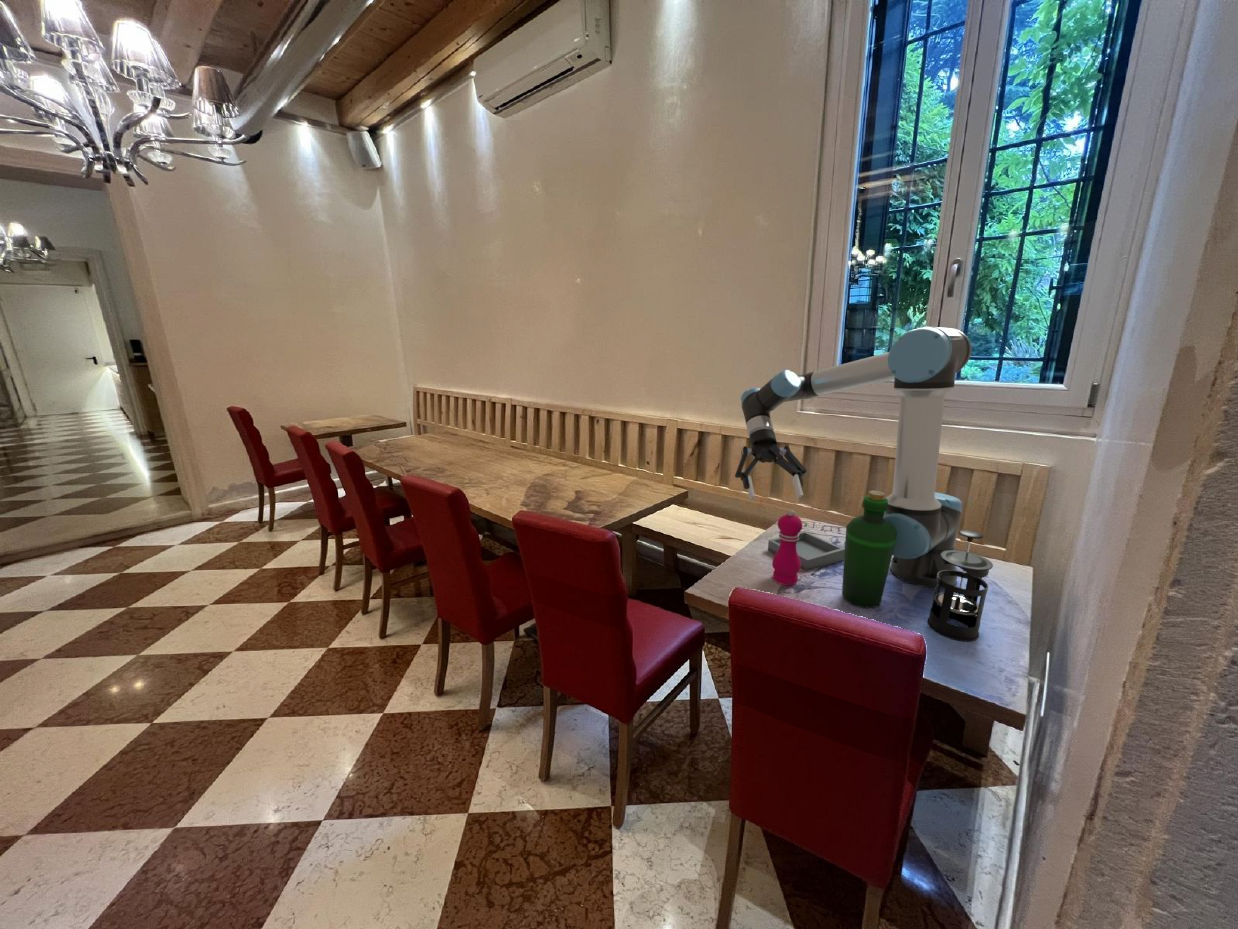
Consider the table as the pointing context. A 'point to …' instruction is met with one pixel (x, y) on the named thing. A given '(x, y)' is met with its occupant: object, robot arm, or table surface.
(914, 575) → the robot arm
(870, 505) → the bottle
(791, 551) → the pepper mill
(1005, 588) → the table surface
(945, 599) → the french press
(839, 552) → the tray
